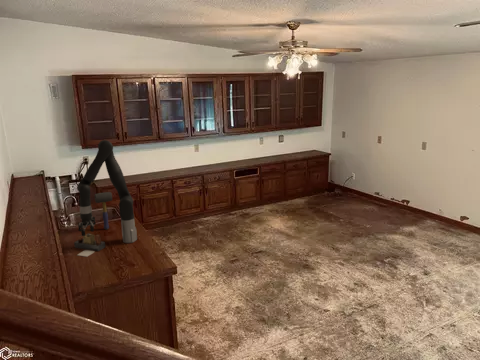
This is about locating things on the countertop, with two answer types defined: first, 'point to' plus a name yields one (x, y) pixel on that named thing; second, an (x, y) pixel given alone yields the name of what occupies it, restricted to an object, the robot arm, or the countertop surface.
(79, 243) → the plane body
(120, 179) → the robot arm
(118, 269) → the countertop surface
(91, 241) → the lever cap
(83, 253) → the felt mat
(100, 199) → the rubber mallet
